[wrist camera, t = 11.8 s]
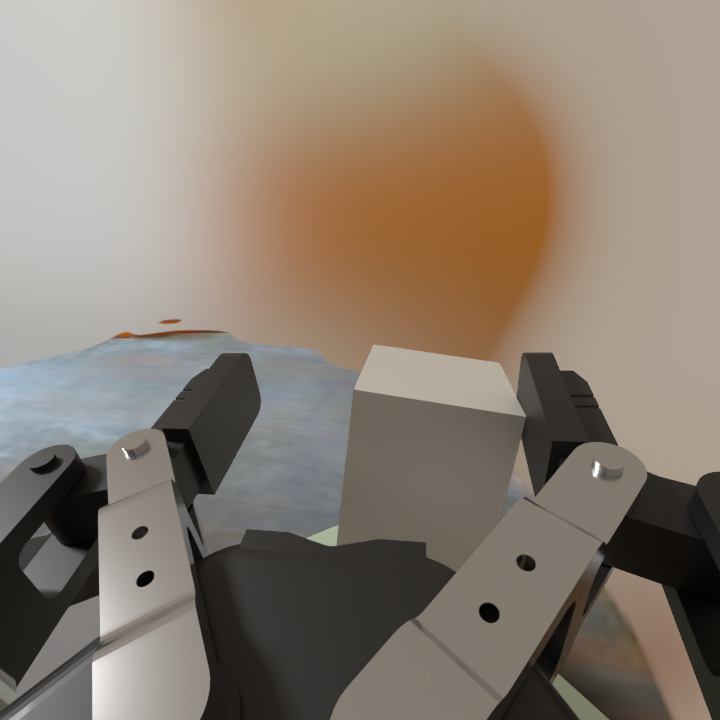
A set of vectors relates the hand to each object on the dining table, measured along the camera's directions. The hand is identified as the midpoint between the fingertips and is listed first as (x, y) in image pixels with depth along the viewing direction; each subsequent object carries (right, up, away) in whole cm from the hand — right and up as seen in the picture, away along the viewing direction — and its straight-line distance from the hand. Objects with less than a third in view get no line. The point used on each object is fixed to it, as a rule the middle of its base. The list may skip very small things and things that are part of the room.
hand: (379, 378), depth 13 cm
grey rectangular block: (+1, -11, +4) cm, 12 cm away
